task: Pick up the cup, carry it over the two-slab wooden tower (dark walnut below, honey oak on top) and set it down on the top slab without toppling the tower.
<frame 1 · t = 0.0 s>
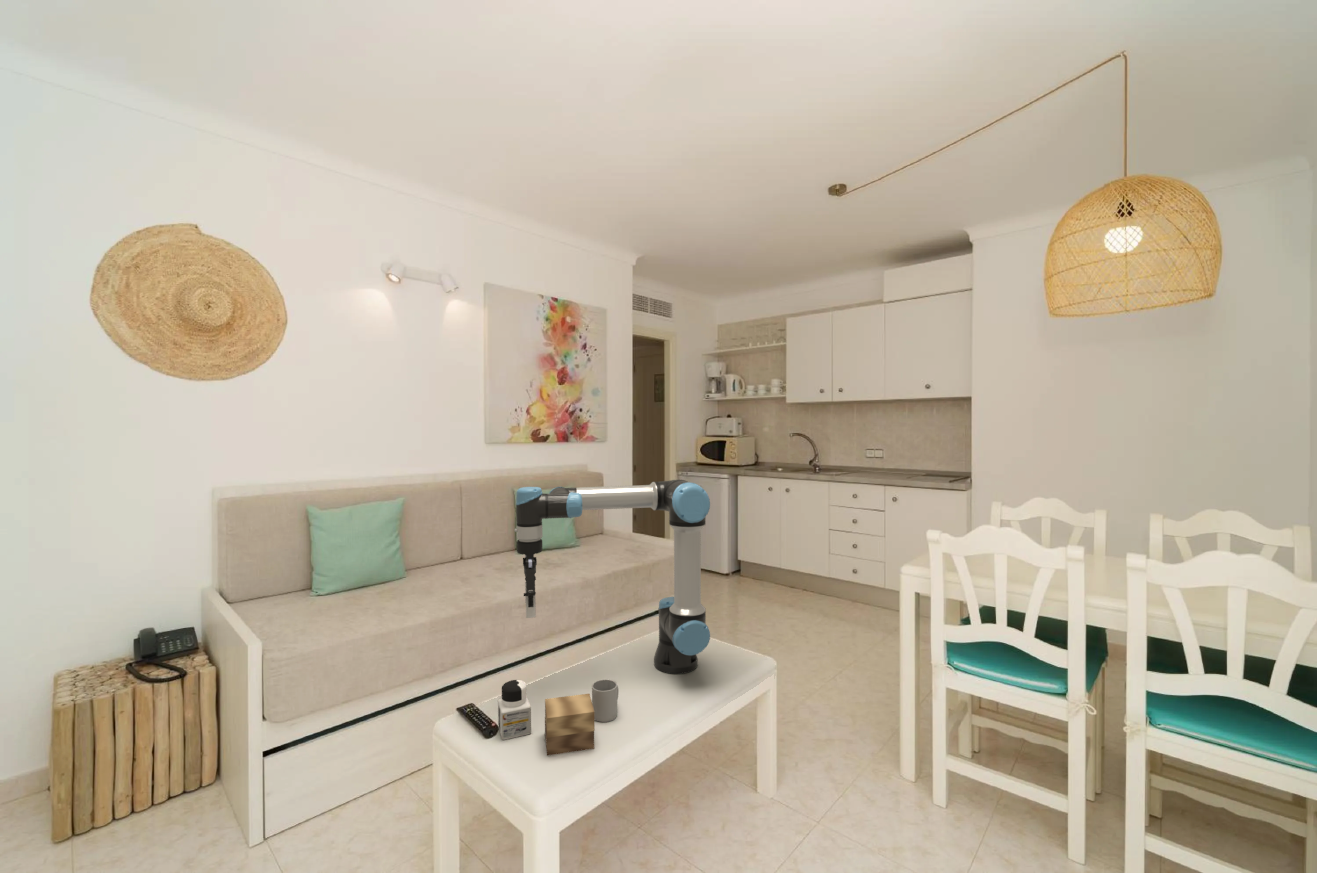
hand: (530, 609, 167), 28 cm above the table, fingers open, 13 cm apart
cup: (607, 714, 161), on the table
slab lower: (569, 742, 147), on the table, touching slab upper
container: (514, 730, 152), on the table
slab upper: (569, 724, 147), point 5 cm above the table, touching slab lower
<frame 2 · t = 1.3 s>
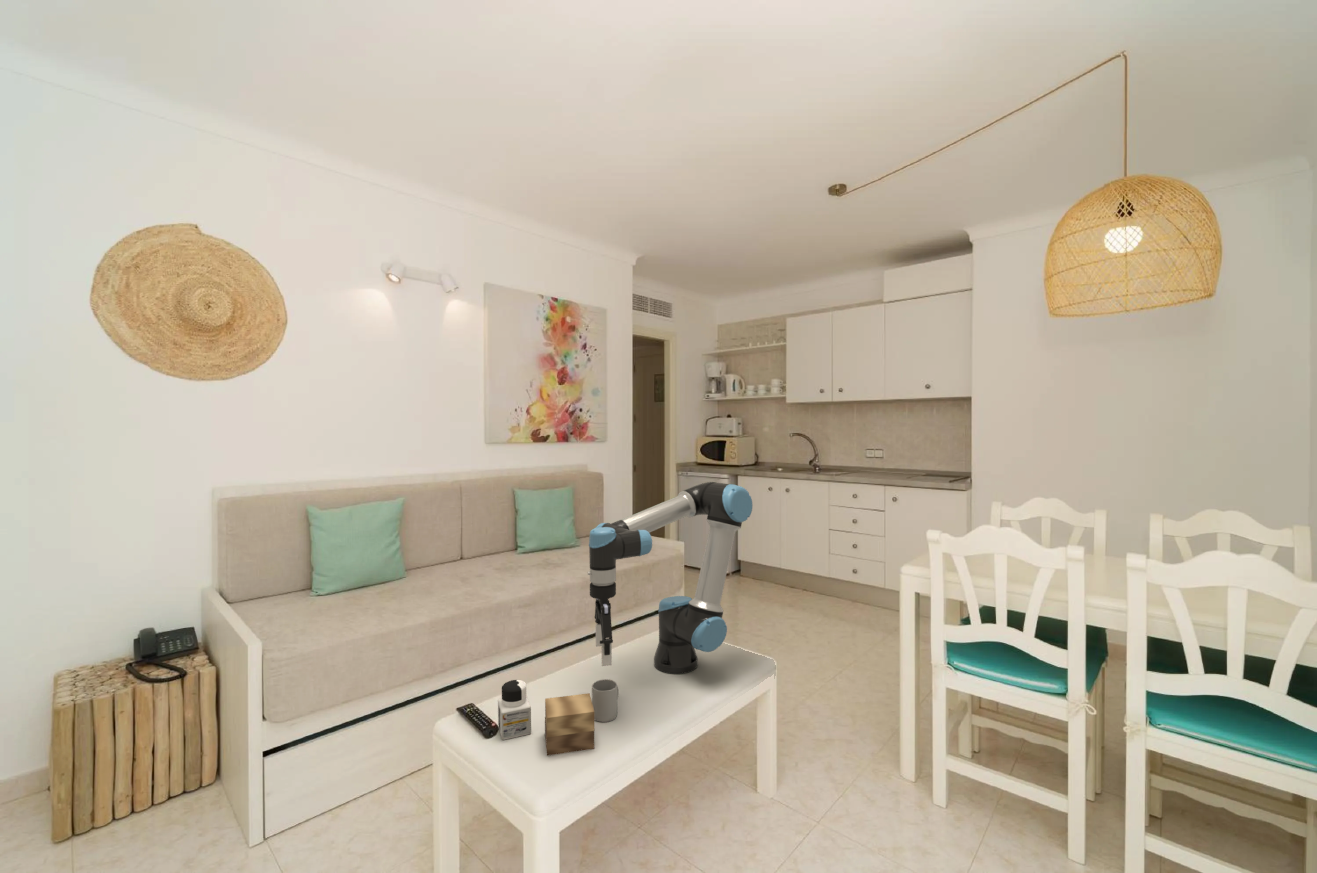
hand: (603, 655, 160), 17 cm above the table, fingers open, 13 cm apart
nothing on the table moved.
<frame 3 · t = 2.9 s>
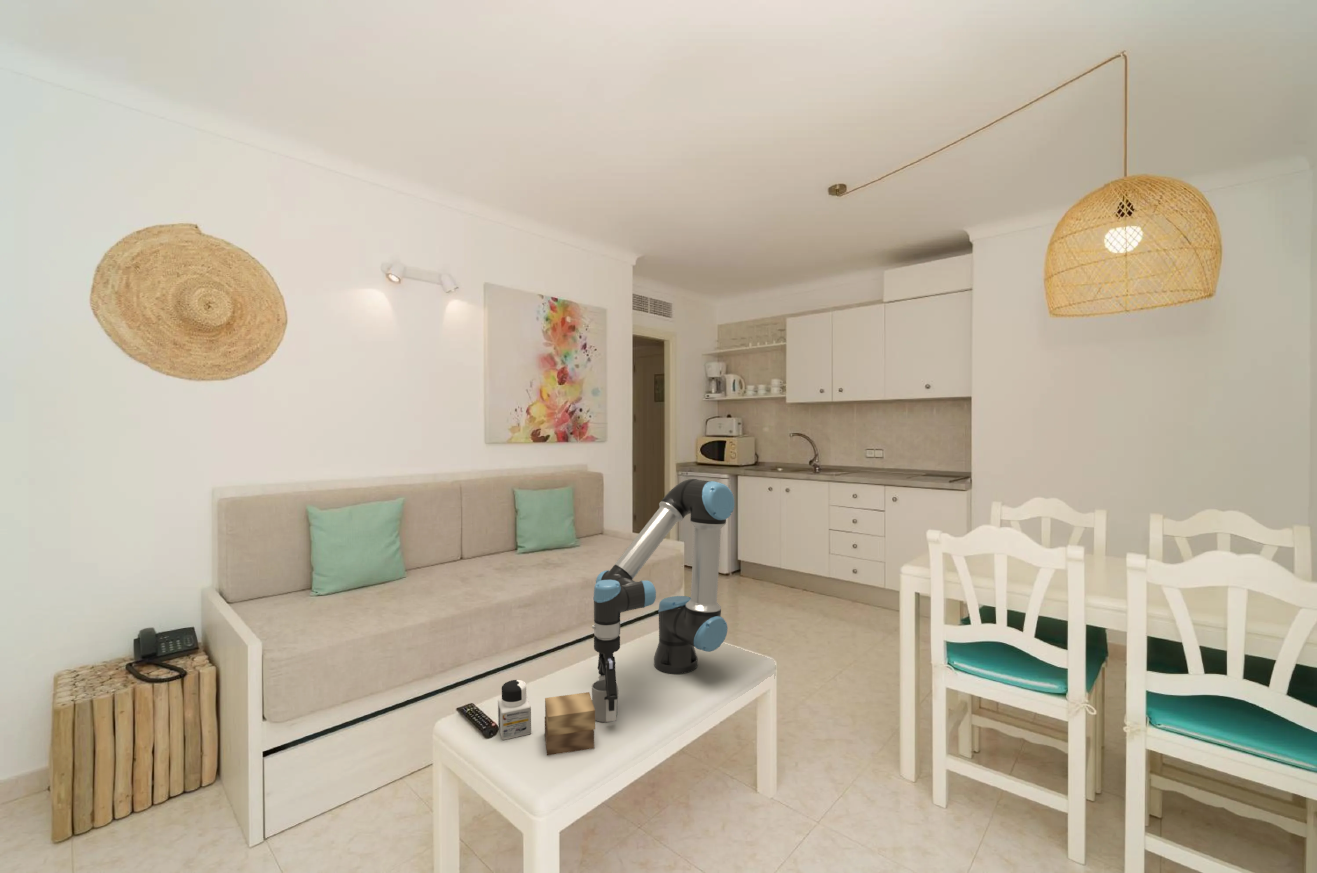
hand: (607, 708, 160), 2 cm above the table, fingers open, 13 cm apart
nothing on the table moved.
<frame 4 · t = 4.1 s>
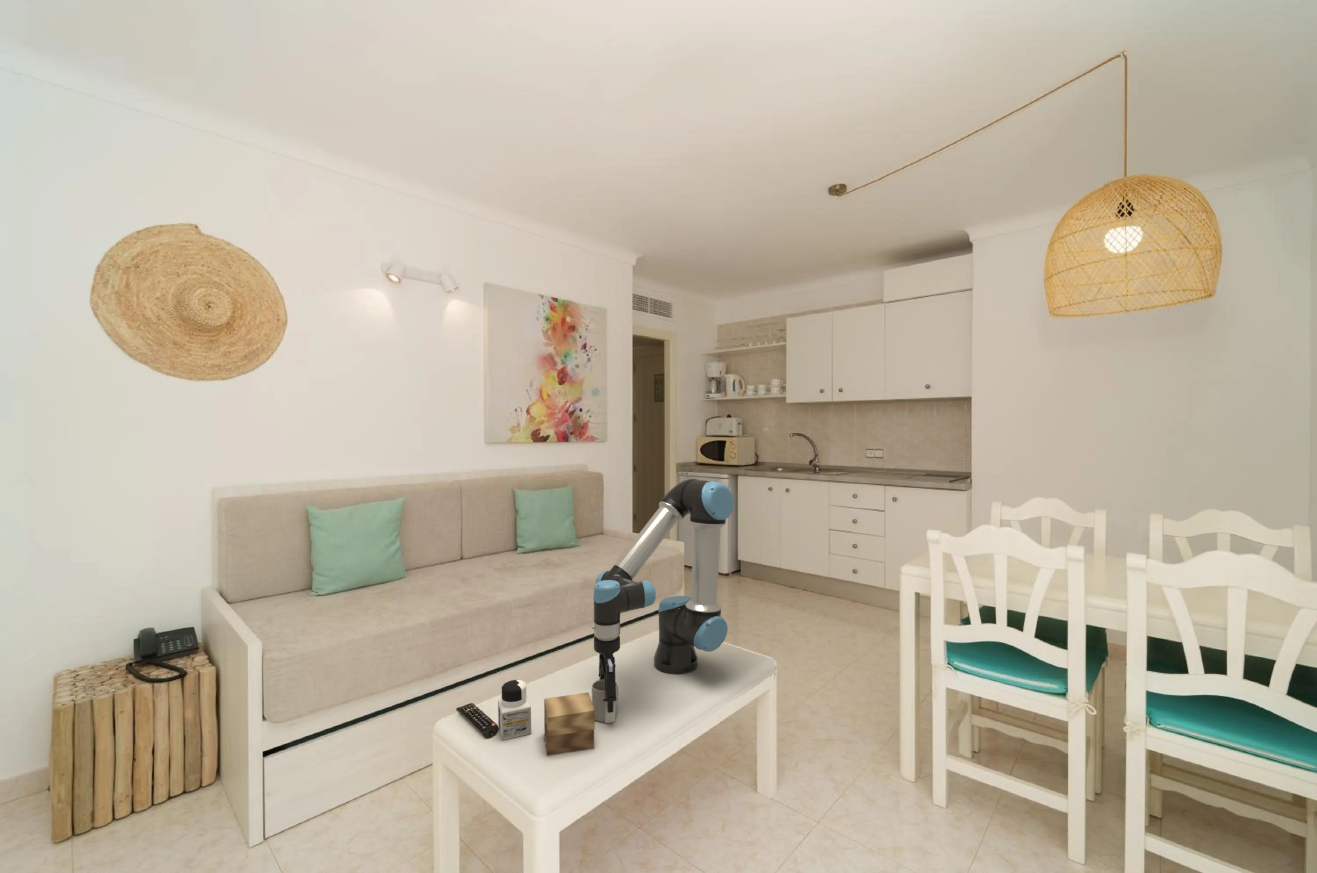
hand: (607, 713, 160), 0 cm above the table, fingers open, 9 cm apart
cup: (607, 714, 161), on the table, touching gripper
everything else where it was.
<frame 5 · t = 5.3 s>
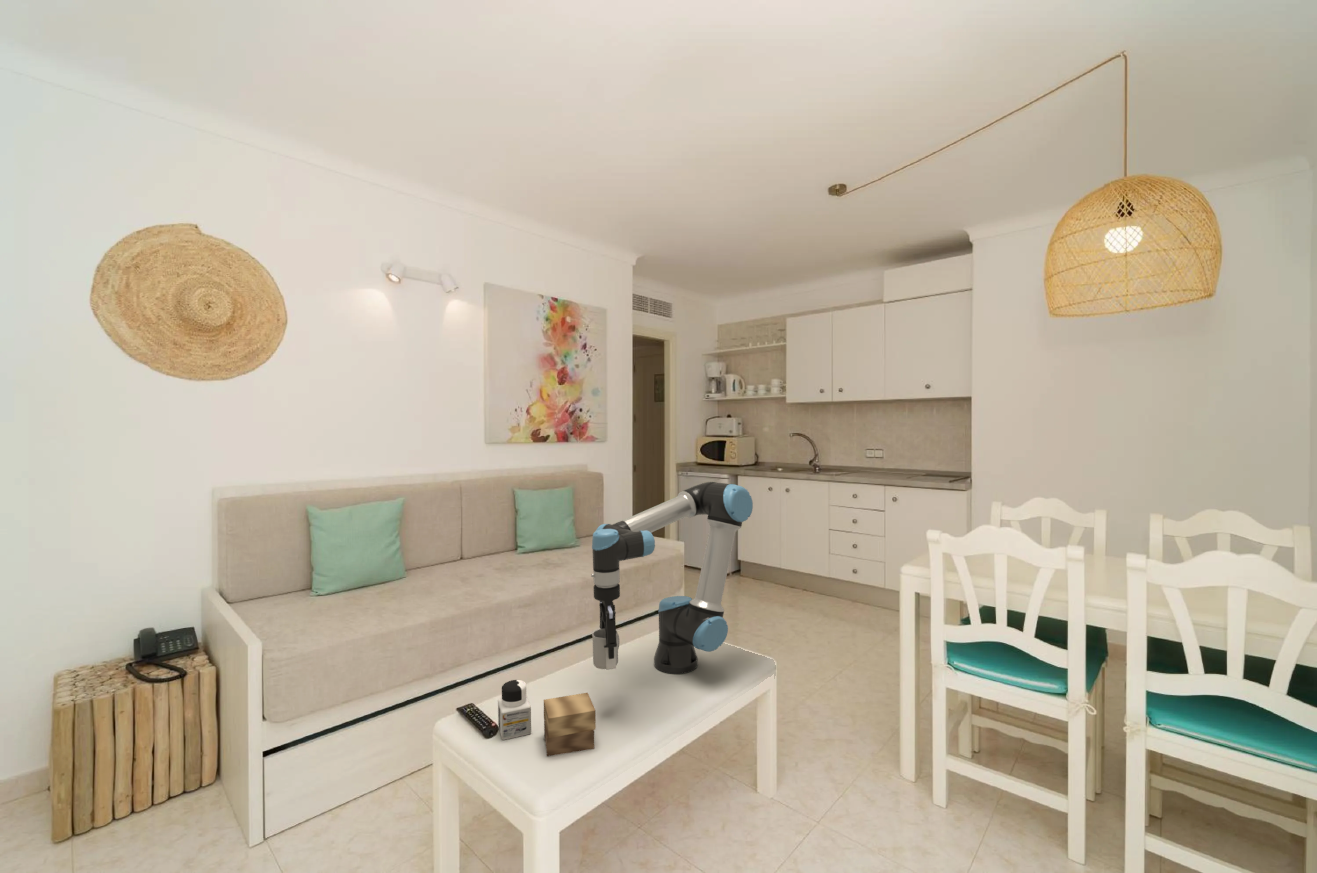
hand: (608, 661, 160), 15 cm above the table, fingers closed on cup, 8 cm apart
cup: (608, 662, 161), point 15 cm above the table, touching gripper
everything else where it was.
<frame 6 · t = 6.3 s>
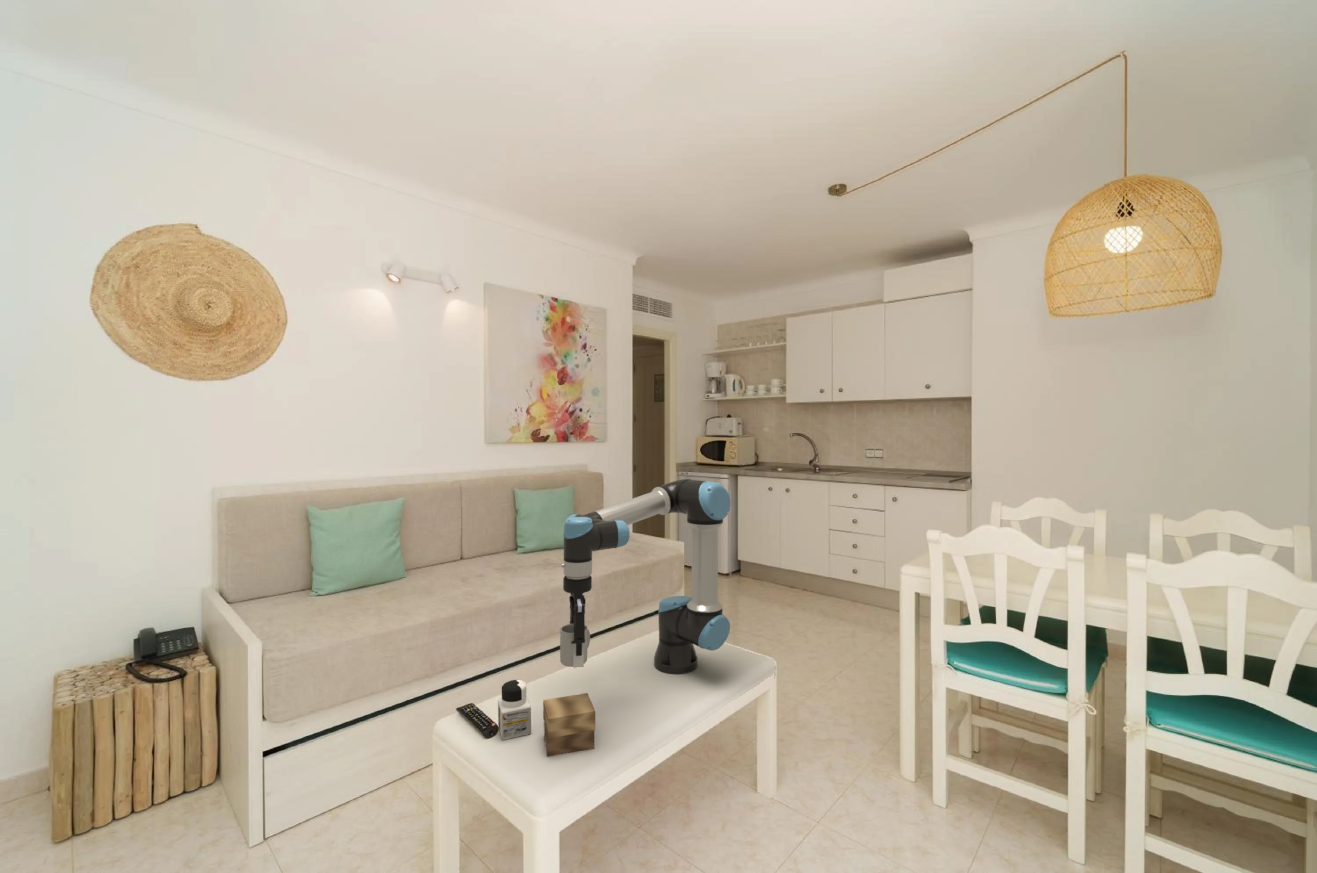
hand: (576, 659, 149), 20 cm above the table, fingers closed on cup, 8 cm apart
cup: (577, 660, 150), point 20 cm above the table, touching gripper
everything else where it was.
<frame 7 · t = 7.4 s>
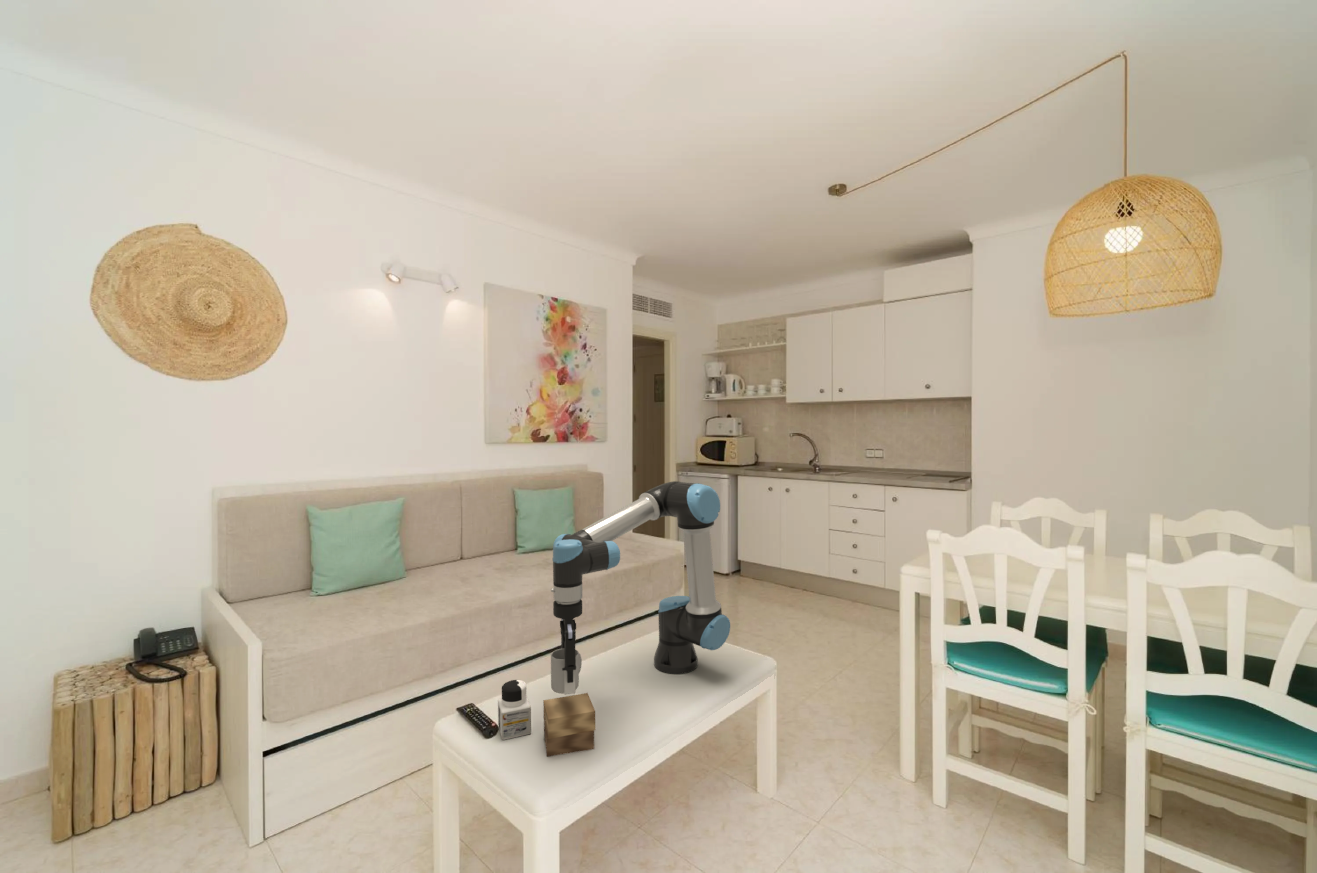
hand: (568, 685, 146), 15 cm above the table, fingers closed on cup, 8 cm apart
cup: (568, 685, 147), point 14 cm above the table, touching gripper
everything else where it was.
when the fingers open (12 cm above the table, at t = 8.8 s): cup moves 1 cm, resting on slab upper.
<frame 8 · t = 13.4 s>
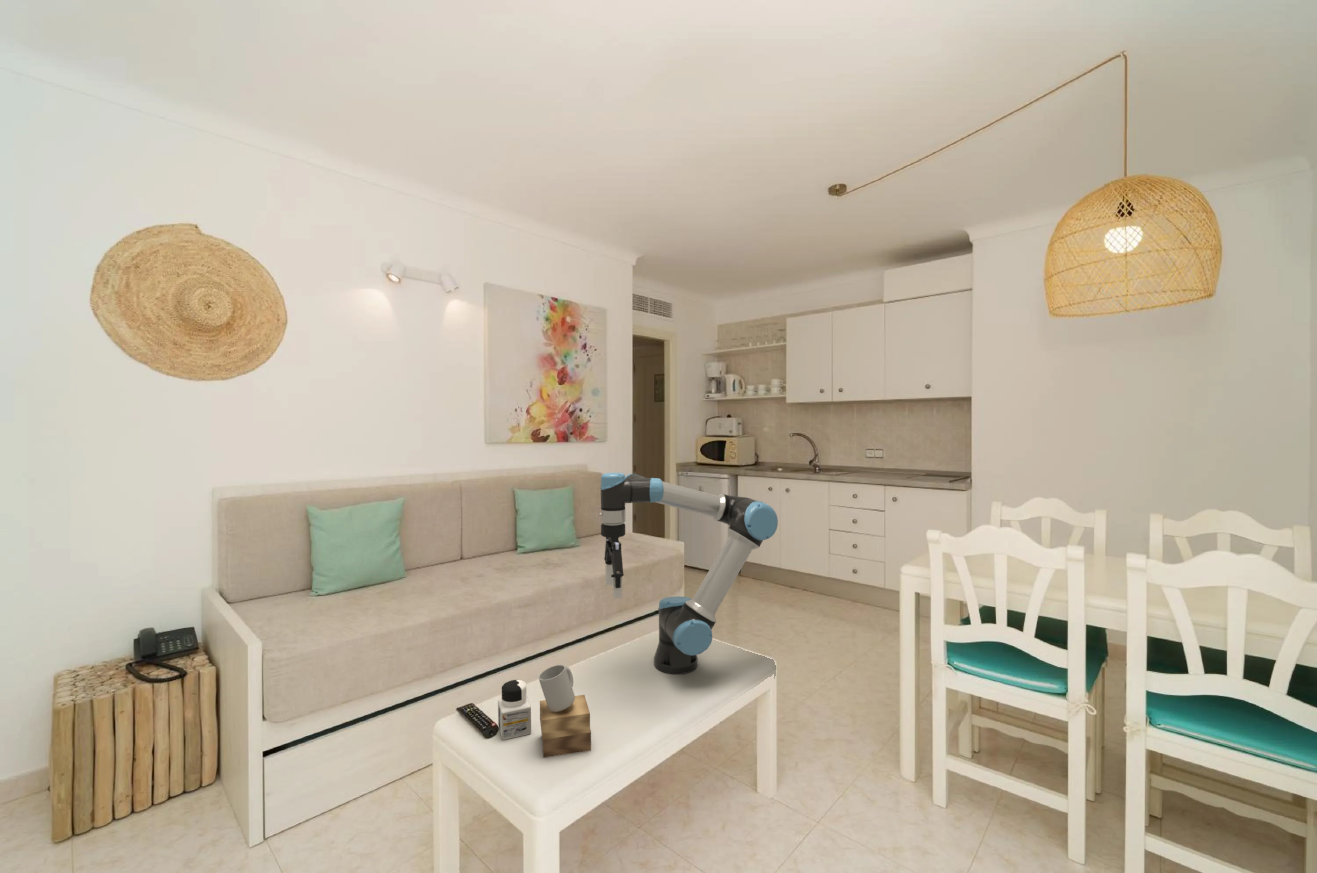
hand: (613, 591, 172), 32 cm above the table, fingers open, 13 cm apart
cup: (565, 701, 146), point 11 cm above the table, touching slab upper
slab upper: (564, 725, 146), point 5 cm above the table, touching cup, slab lower
at the end: cup inside the target area on the slab upper (0.9 cm from its centre), point 6.0 cm above the slab upper's base; cup tilted 16°; slab upper tilted 0° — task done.
